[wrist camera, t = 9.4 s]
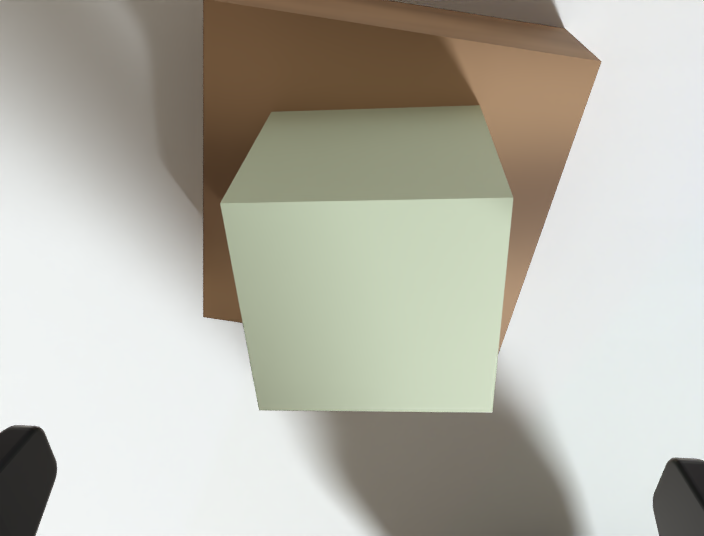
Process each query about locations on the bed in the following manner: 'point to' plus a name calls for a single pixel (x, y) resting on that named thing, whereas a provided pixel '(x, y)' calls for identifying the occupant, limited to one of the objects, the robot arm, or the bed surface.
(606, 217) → the bed surface
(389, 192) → the sage cube
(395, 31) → the walnut block
